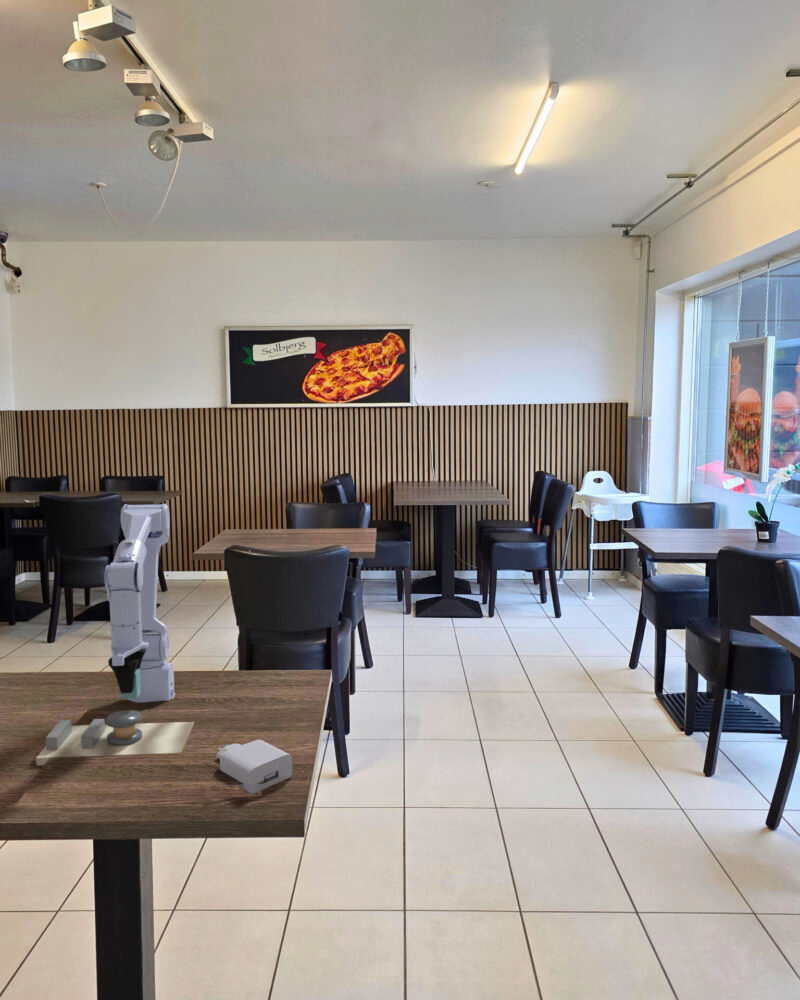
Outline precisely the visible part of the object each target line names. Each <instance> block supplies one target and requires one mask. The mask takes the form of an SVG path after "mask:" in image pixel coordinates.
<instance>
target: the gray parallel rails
mask: <svg viewBox="0 0 800 1000" xmlns="http://www.w3.org/2000/svg"><path fill="white" fill-rule="evenodd" d="M105 721H106V719H105V718H94V719H93V720H92V721H91V722H90V724H89V727H88V728H87V729H86V731H85V732H84V733H83V735H82V736H81V742H82V749H93V748H94V746H95V745H96V743H97V742H98V741H99V739H100V738H101V736H102V735H103V733H104V732H105V725H106V722H105ZM71 726H72V719H61V720H59V721H58V723H56V725H55V726H54V727H53V728H52V729H51V731H50V732H49V733H48V735H47V736H46V737H45V746H46V750H58V749H59V747H60V746H61V745H62V744H63V742H64V741H65V740H66V739H67V737H68V736H69V735H70V733H71V732H72V728H71Z"/></svg>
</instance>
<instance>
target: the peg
mask: <svg viewBox="0 0 800 1000" xmlns="http://www.w3.org/2000/svg"><path fill="white" fill-rule="evenodd" d="M140 693H141V686H140V669H136V671H135V678H134V687H133V691H132V693H121V692H120V694H121V695H120V698H121V700H127V699H128V700H129V699H133V698H138V696H139V695H140Z"/></svg>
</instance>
